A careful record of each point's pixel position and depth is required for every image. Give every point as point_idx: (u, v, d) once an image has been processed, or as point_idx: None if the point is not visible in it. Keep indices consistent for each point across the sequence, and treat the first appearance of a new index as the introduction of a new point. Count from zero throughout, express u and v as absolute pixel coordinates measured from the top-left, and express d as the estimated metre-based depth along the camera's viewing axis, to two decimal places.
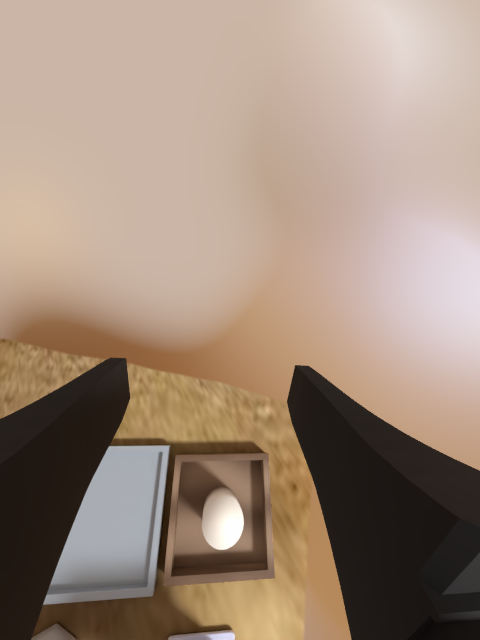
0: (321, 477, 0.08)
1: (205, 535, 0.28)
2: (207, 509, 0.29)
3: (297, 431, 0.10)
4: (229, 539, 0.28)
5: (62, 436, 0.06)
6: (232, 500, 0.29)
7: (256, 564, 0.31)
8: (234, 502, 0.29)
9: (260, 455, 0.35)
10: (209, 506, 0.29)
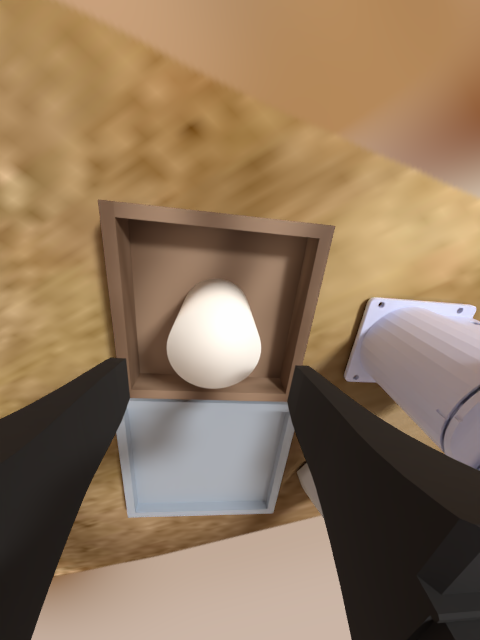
0: (321, 477, 0.08)
1: (232, 382, 0.14)
2: (189, 379, 0.13)
3: (297, 431, 0.10)
4: (246, 339, 0.12)
5: (61, 436, 0.06)
6: (174, 329, 0.12)
7: (307, 254, 0.16)
8: (178, 325, 0.12)
9: (104, 223, 0.13)
10: (184, 376, 0.13)
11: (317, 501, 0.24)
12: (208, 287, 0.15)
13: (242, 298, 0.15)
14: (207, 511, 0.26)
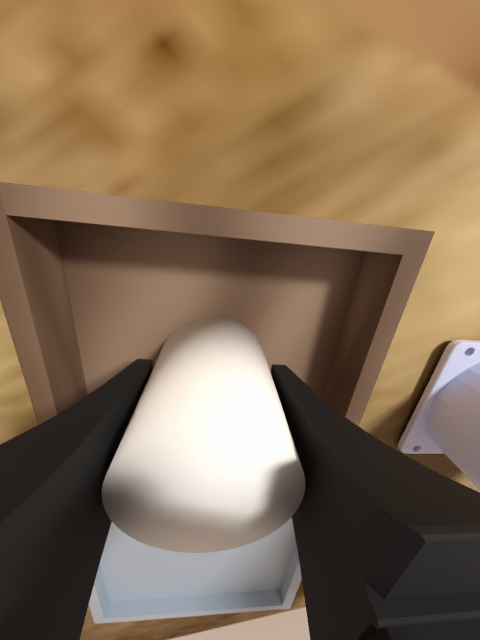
0: None
1: (243, 542, 0.07)
2: (157, 543, 0.07)
3: None
4: (275, 477, 0.06)
5: (105, 436, 0.06)
6: (116, 469, 0.05)
7: (365, 278, 0.10)
8: (124, 462, 0.05)
9: None
10: (146, 539, 0.06)
11: None
12: (198, 342, 0.08)
13: (258, 359, 0.09)
14: (203, 611, 0.19)
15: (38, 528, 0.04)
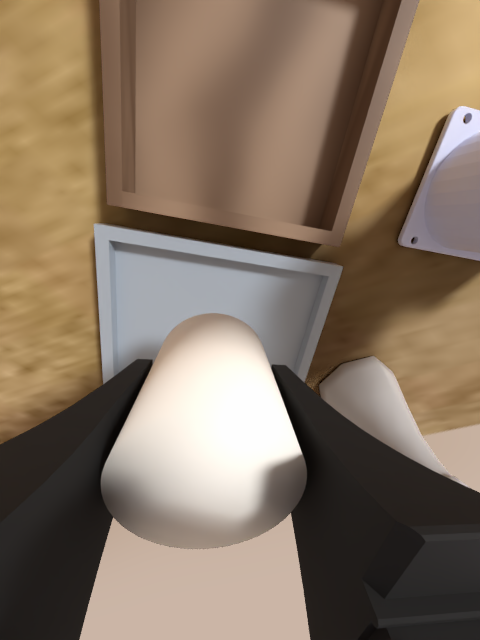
0: None
1: (245, 537, 0.07)
2: (156, 538, 0.06)
3: None
4: (276, 466, 0.06)
5: (105, 436, 0.06)
6: (115, 457, 0.05)
7: None
8: (124, 449, 0.05)
9: None
10: (145, 534, 0.06)
11: (348, 410, 0.19)
12: (198, 335, 0.08)
13: (259, 353, 0.09)
14: None
15: (38, 528, 0.04)
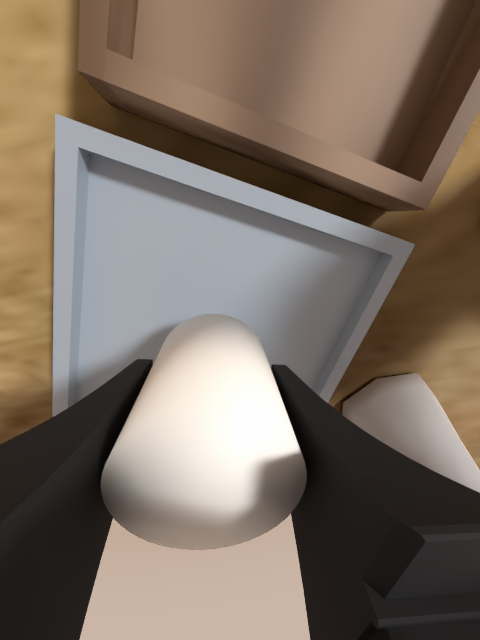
0: None
1: (245, 537, 0.07)
2: (156, 539, 0.06)
3: None
4: (276, 467, 0.06)
5: (105, 436, 0.06)
6: (115, 457, 0.05)
7: None
8: (124, 450, 0.05)
9: None
10: (145, 535, 0.06)
11: (385, 441, 0.14)
12: (198, 336, 0.08)
13: (258, 354, 0.09)
14: None
15: (38, 528, 0.04)
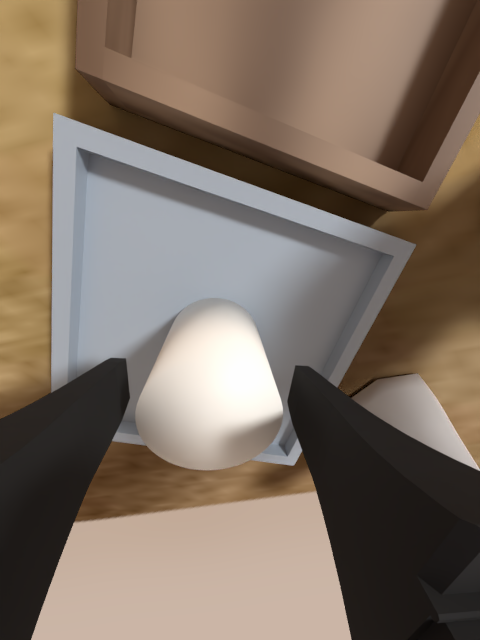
0: (321, 477, 0.08)
1: (238, 461, 0.09)
2: (173, 460, 0.09)
3: (297, 431, 0.10)
4: (260, 404, 0.08)
5: (61, 436, 0.06)
6: (146, 393, 0.07)
7: None
8: (152, 387, 0.07)
9: None
10: (165, 455, 0.09)
11: None
12: (203, 314, 0.11)
13: (251, 329, 0.11)
14: None
15: None
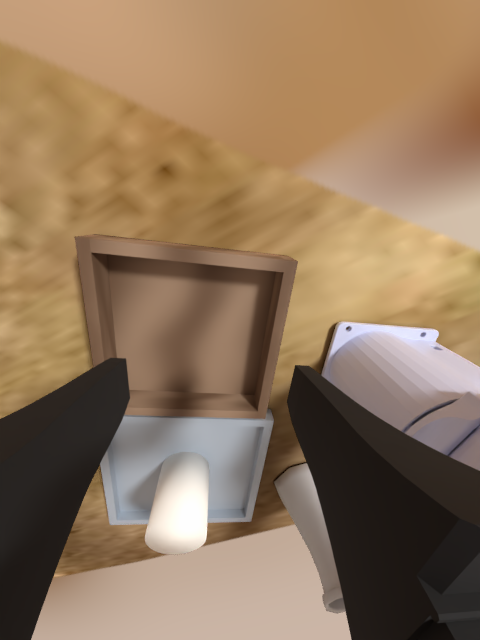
0: (321, 477, 0.08)
1: (193, 549, 0.20)
2: (165, 552, 0.20)
3: (297, 431, 0.10)
4: (194, 530, 0.19)
5: (61, 436, 0.06)
6: (147, 534, 0.19)
7: (275, 283, 0.18)
8: (149, 532, 0.19)
9: (81, 257, 0.14)
10: (161, 551, 0.20)
11: (291, 511, 0.25)
12: (171, 475, 0.22)
13: (196, 477, 0.22)
14: None
15: None
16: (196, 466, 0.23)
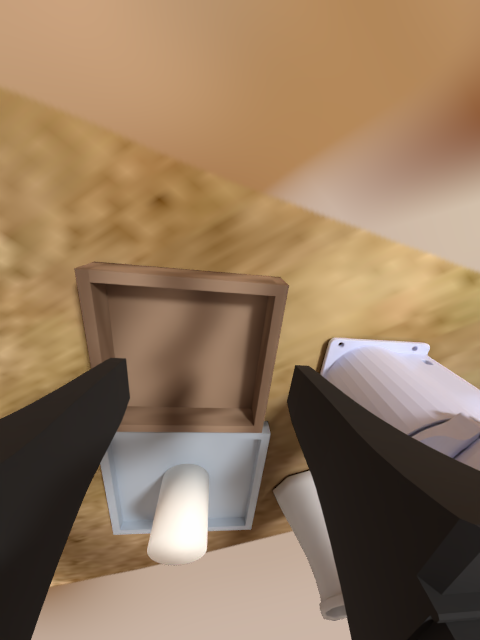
0: (321, 477, 0.08)
1: (194, 560, 0.21)
2: (167, 563, 0.21)
3: (297, 431, 0.10)
4: (194, 542, 0.20)
5: (61, 436, 0.06)
6: (149, 546, 0.20)
7: (268, 304, 0.18)
8: (151, 545, 0.20)
9: (81, 287, 0.15)
10: (163, 563, 0.21)
11: (289, 520, 0.26)
12: (172, 488, 0.23)
13: (196, 489, 0.23)
14: None
15: None
16: (196, 478, 0.24)
